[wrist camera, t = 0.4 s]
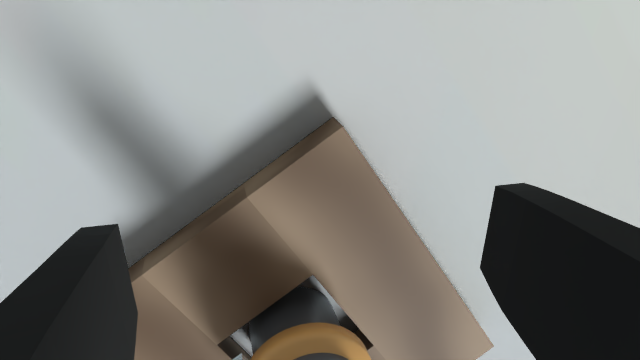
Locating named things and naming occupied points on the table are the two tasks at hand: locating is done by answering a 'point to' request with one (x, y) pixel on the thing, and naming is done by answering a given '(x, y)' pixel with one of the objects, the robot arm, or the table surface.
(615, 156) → the table surface
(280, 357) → the plug
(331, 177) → the socket block
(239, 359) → the grey rectangular bar
